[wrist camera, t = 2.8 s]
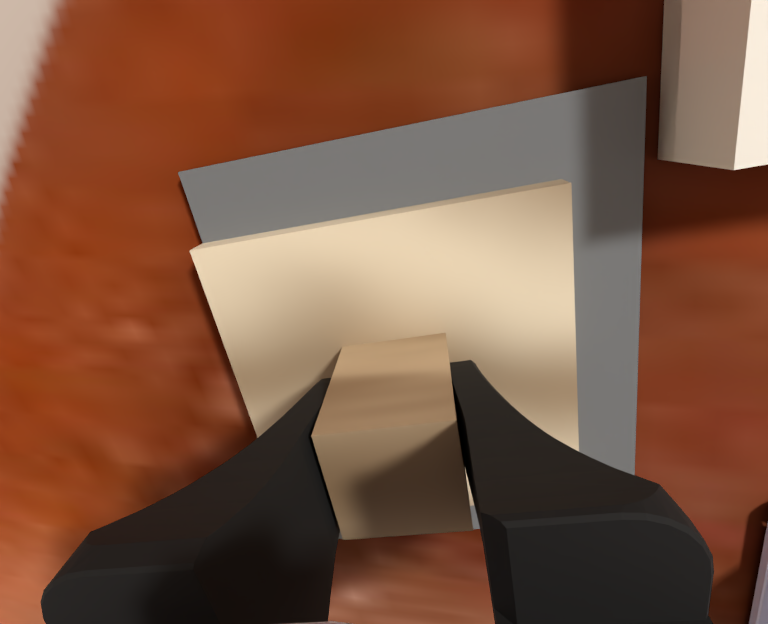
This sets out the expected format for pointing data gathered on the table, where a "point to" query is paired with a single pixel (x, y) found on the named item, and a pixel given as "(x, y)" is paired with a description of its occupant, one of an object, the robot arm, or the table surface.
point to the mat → (475, 176)
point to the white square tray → (714, 83)
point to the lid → (403, 340)
